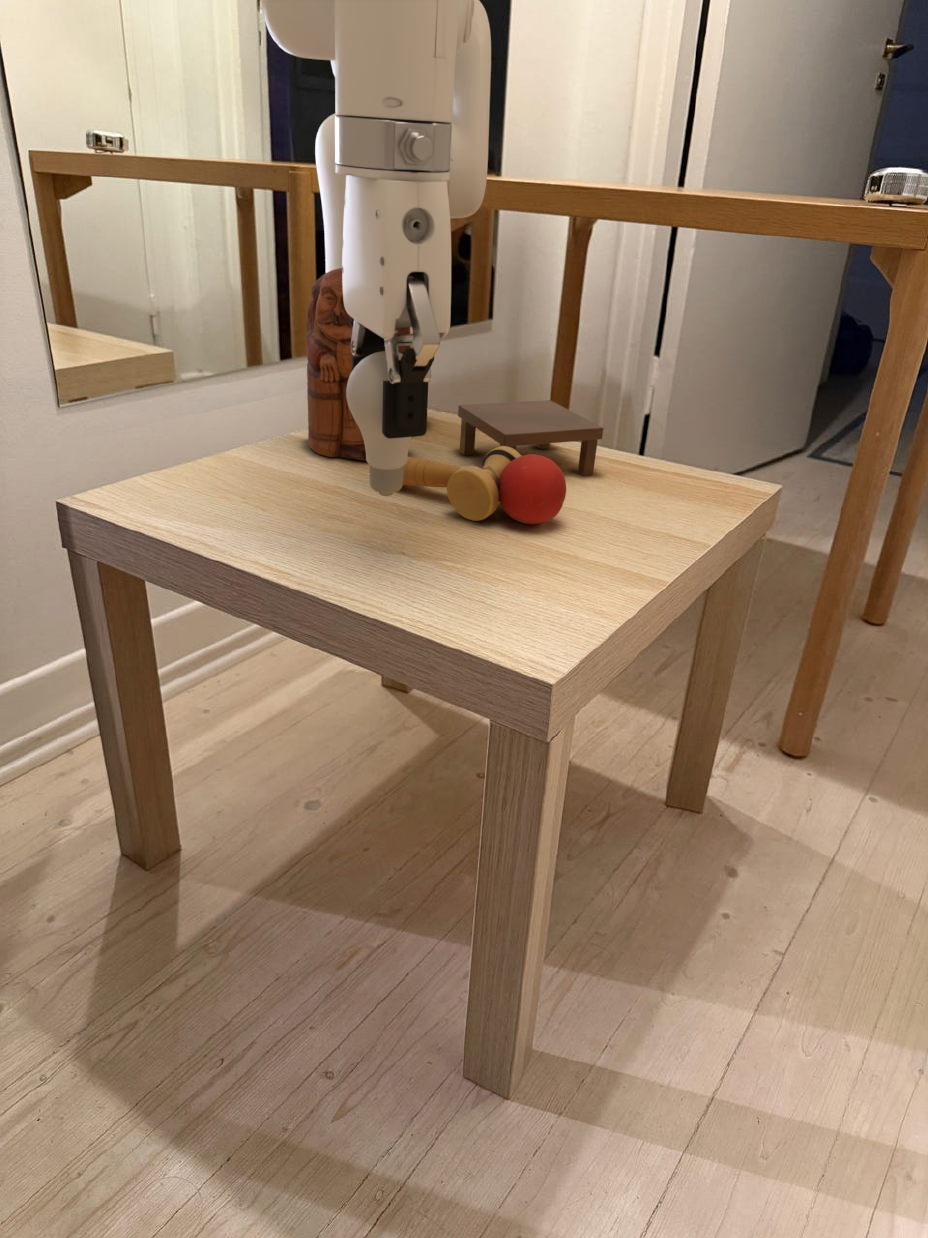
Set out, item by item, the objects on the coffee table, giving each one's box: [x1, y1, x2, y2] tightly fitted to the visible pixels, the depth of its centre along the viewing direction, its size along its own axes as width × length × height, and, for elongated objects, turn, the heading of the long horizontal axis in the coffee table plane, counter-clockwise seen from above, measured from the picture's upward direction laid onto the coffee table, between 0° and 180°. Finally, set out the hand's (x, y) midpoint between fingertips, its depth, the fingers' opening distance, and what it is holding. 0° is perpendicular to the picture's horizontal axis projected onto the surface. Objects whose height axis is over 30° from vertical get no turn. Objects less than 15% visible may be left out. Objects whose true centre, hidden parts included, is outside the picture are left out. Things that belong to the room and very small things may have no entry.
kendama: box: [402, 446, 567, 525], centre depth 82 cm, size 8×6×18 cm
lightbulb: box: [346, 351, 431, 497], centre depth 68 cm, size 6×6×11 cm
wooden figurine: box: [305, 268, 411, 461], centre depth 91 cm, size 12×6×18 cm, turn 75°
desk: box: [457, 399, 604, 476], centre depth 94 cm, size 11×11×5 cm
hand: (387, 419), depth 68 cm, fingers closed on lightbulb, 6 cm apart
